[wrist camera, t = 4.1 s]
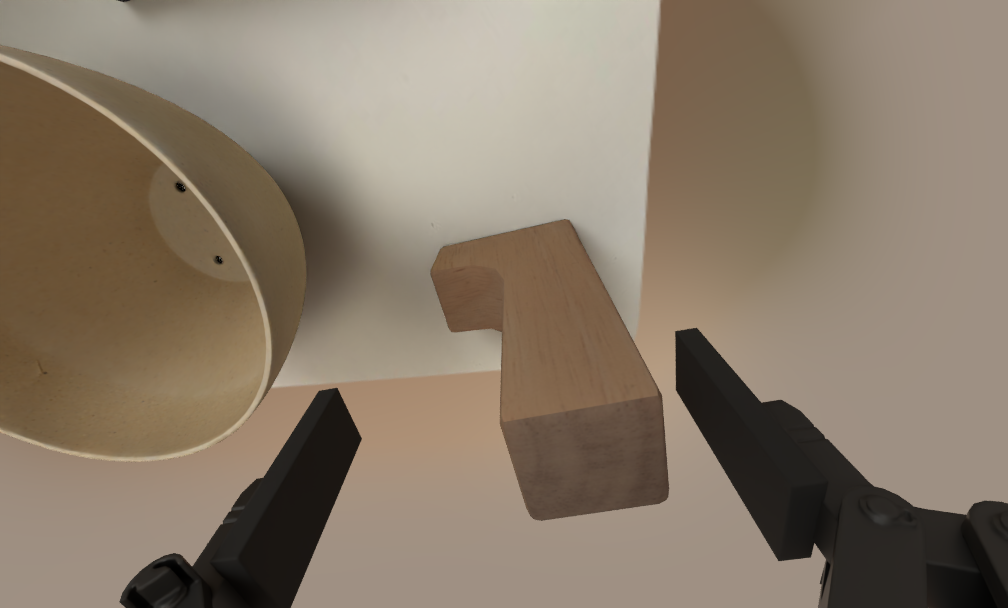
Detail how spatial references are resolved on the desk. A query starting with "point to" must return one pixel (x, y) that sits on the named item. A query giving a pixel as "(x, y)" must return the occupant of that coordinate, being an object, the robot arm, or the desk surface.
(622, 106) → the desk surface
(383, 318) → the desk surface
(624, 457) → the wooden block
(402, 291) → the desk surface
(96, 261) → the flower pot
